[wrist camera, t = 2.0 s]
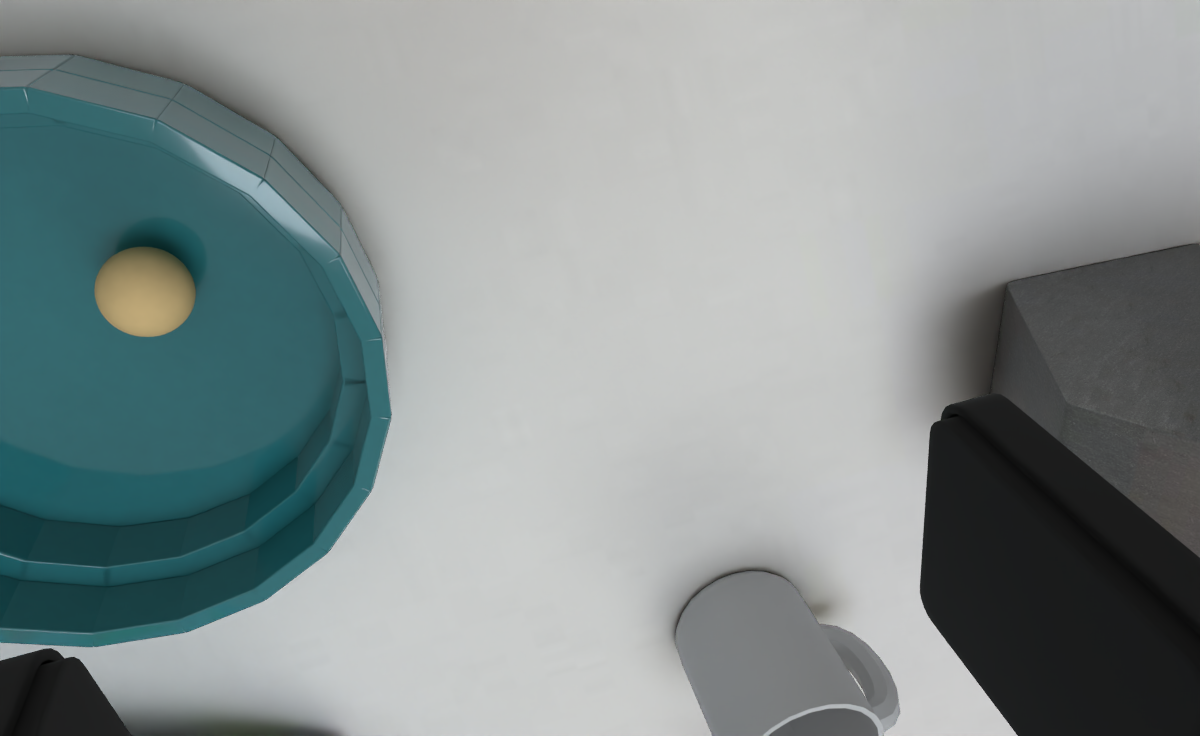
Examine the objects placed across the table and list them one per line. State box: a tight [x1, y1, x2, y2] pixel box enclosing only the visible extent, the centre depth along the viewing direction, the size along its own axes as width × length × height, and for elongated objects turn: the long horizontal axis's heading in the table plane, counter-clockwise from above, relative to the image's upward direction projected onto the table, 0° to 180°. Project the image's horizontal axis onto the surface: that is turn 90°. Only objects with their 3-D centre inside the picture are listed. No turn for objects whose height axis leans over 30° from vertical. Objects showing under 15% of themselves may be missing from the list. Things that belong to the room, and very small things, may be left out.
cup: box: [676, 571, 900, 736], centre depth 44 cm, size 7×10×9 cm
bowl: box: [0, 54, 392, 647], centre depth 30 cm, size 19×19×6 cm
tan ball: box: [94, 247, 196, 337], centre depth 29 cm, size 3×3×3 cm
